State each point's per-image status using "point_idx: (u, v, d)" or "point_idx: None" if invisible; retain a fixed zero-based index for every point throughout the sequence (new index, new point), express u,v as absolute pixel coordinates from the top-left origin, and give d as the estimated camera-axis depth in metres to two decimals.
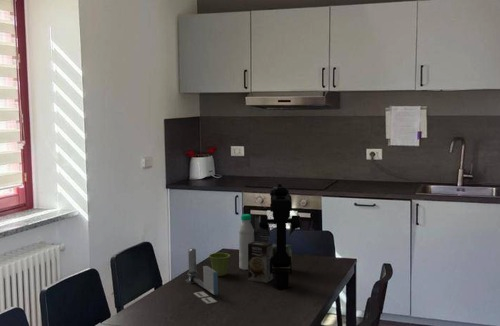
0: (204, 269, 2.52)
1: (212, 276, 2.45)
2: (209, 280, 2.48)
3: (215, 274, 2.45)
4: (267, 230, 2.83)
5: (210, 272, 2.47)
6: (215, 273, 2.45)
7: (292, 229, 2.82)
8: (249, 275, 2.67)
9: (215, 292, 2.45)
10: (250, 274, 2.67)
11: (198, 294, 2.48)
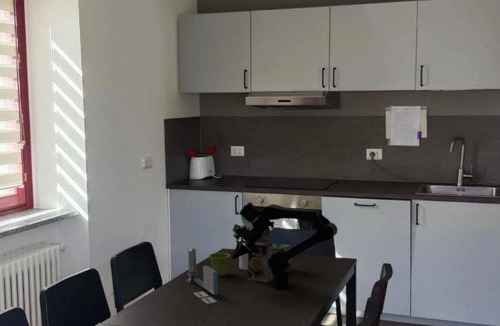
0: (204, 269, 2.52)
1: (212, 276, 2.45)
2: (209, 280, 2.48)
3: (215, 274, 2.45)
4: None
5: (210, 272, 2.47)
6: (215, 273, 2.45)
7: None
8: (249, 275, 2.67)
9: (215, 292, 2.45)
10: (250, 274, 2.67)
11: (198, 294, 2.48)
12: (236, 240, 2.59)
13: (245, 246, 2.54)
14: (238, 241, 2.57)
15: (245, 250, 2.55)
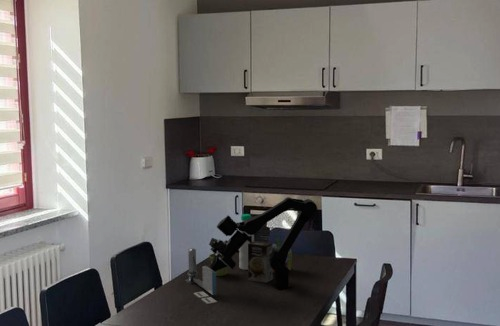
0: (203, 269, 2.52)
1: (211, 276, 2.45)
2: (208, 280, 2.48)
3: (214, 274, 2.44)
4: (222, 267, 2.53)
5: (209, 273, 2.46)
6: (214, 273, 2.44)
7: None
8: (249, 275, 2.67)
9: (214, 292, 2.45)
10: (250, 274, 2.67)
11: (198, 294, 2.48)
12: (213, 254, 2.55)
13: (221, 260, 2.50)
14: (215, 255, 2.53)
15: (222, 264, 2.52)
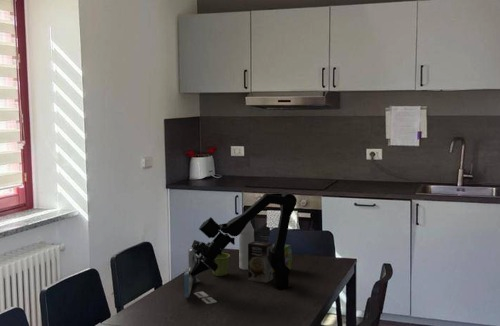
0: None
1: (184, 278, 2.43)
2: None
3: (186, 276, 2.42)
4: None
5: None
6: (186, 275, 2.42)
7: None
8: (249, 275, 2.67)
9: (186, 294, 2.43)
10: (250, 274, 2.67)
11: (198, 294, 2.48)
12: (196, 256, 2.53)
13: (204, 263, 2.48)
14: (197, 257, 2.51)
15: (204, 267, 2.50)
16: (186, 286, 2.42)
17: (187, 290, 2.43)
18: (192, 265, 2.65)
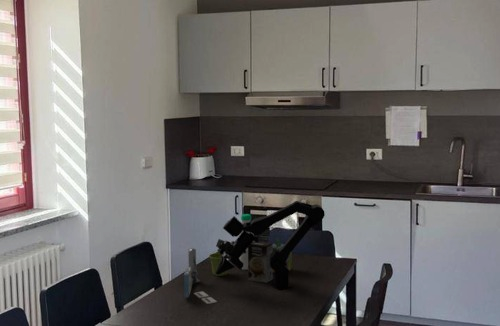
0: None
1: (184, 278, 2.43)
2: None
3: (186, 276, 2.42)
4: None
5: None
6: (186, 275, 2.42)
7: None
8: (249, 275, 2.67)
9: (186, 294, 2.43)
10: (250, 274, 2.67)
11: (198, 294, 2.48)
12: (220, 255, 2.56)
13: (229, 261, 2.51)
14: (222, 256, 2.54)
15: (229, 265, 2.53)
16: (186, 286, 2.42)
17: (187, 290, 2.43)
18: (192, 265, 2.65)
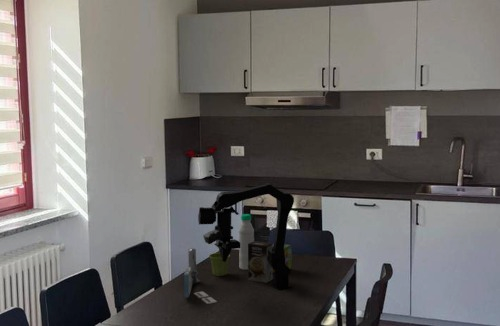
0: None
1: (184, 278, 2.43)
2: None
3: (186, 276, 2.42)
4: (230, 249, 2.52)
5: None
6: (186, 275, 2.42)
7: None
8: (249, 275, 2.67)
9: (186, 294, 2.43)
10: (250, 274, 2.67)
11: (198, 294, 2.48)
12: None
13: None
14: (217, 245, 2.51)
15: None
16: (186, 286, 2.42)
17: (187, 290, 2.43)
18: (192, 265, 2.65)
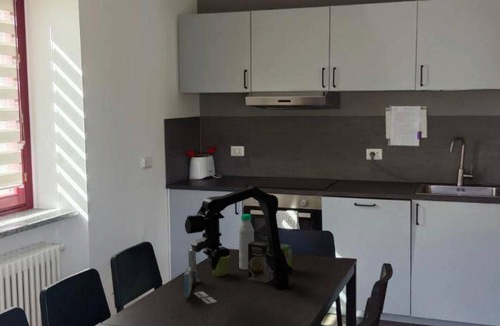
0: None
1: (184, 278, 2.43)
2: None
3: (186, 276, 2.42)
4: (220, 256, 2.42)
5: None
6: (186, 275, 2.42)
7: None
8: (249, 275, 2.67)
9: (186, 294, 2.43)
10: (250, 274, 2.67)
11: (198, 294, 2.48)
12: (203, 252, 2.43)
13: None
14: (206, 253, 2.41)
15: None
16: (186, 286, 2.42)
17: (187, 290, 2.43)
18: (192, 265, 2.65)
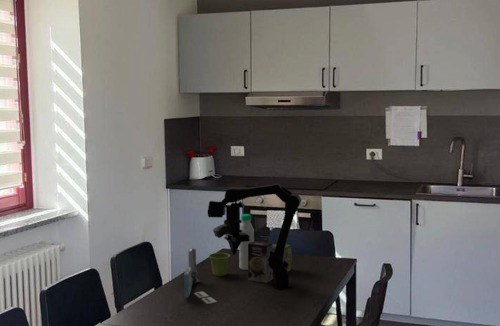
0: None
1: (184, 278, 2.43)
2: None
3: (186, 276, 2.42)
4: (240, 242, 2.60)
5: None
6: (186, 275, 2.42)
7: None
8: (249, 275, 2.67)
9: (186, 294, 2.43)
10: (250, 274, 2.67)
11: (198, 294, 2.48)
12: (225, 238, 2.61)
13: None
14: (227, 238, 2.59)
15: None
16: (186, 286, 2.42)
17: (187, 290, 2.43)
18: (192, 265, 2.65)
